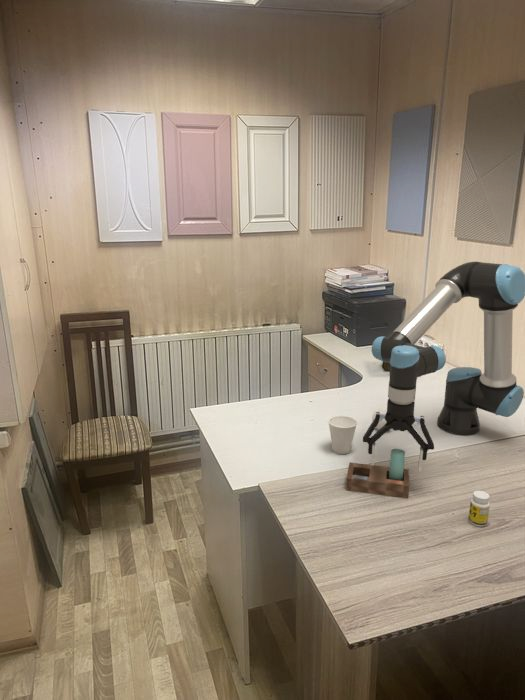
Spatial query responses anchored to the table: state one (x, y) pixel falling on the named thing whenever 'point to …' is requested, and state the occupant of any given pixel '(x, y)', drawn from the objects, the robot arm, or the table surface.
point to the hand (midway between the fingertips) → (395, 466)
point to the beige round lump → (381, 423)
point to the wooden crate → (386, 366)
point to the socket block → (376, 480)
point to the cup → (342, 433)
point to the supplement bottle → (479, 508)
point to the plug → (396, 464)
